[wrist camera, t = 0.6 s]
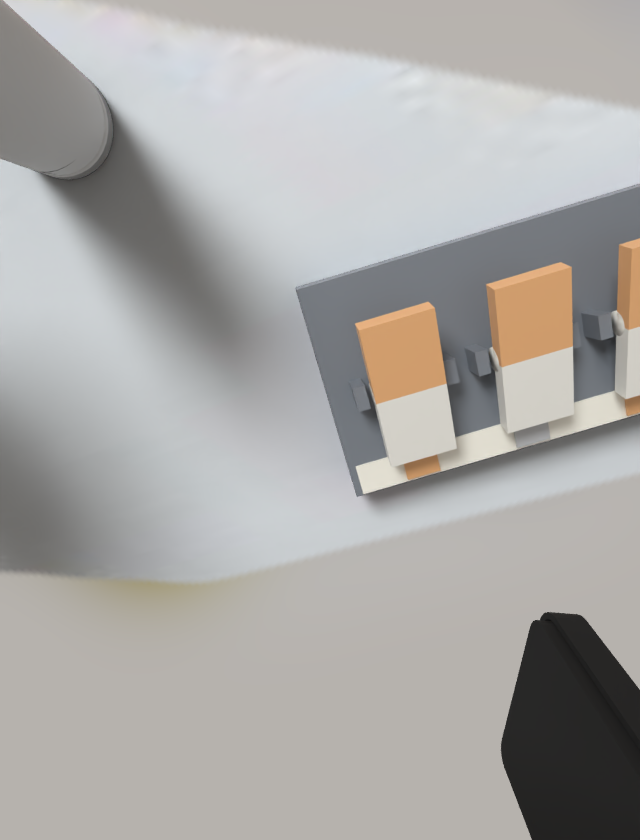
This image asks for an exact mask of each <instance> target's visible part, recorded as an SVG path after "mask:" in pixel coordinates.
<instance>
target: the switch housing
mask: <svg viewBox="0 0 640 840" xmlns="http://www.w3.org/2000/svg"><path fill="white" fill-rule="evenodd" d="M639 238H640V184H637V185H634V186H631V187H627V188H624V189H621V190H617V191H614V192H611V193H607V194H604V195H601V196H598V197H594V198H591V199H588V200H584V201H581V202H578V203H574V204H571V205H568V206H564V207H561V208H558V209H554V210H551V211H548V212H544V213H541V214H538V215H535V216H531V217H528V218H525V219H521V220H518V221H515V222H511V223H508V224H505V225H501V226H498V227H495V228H491V229H488V230H485V231H481V232H478V233H475V234H472V235H468V236H465V237H462V238H458V239H455V240H452V241H448V242H445V243H442V244H438V245H435V246H432V247H428V248H425V249H422V250H418V251H415V252H412V253H408V254H405V255H402V256H399V257H395V258H392V259H389V260H385V261H382V262H379V263H375V264H372V265H369V266H365V267H362V268H359V269H355V270H352V271H349V272H345V273H342V274H339V275H336V276H332V277H329V278H326V279H322V280H319V281H316V282H312V283H309V284H306V285H302V286H299V287H296V292H297V295H298V298H299V302H300V305H301V309H302V312H303V315H304V319H305V322H306V326H307V329H308V332H309V336H310V339H311V343H312V346H313V349H314V353H315V356H316V360H317V363H318V366H319V370H320V373H321V377H322V380H323V383H324V387H325V390H326V394H327V397H328V400H329V404H330V407H331V411H332V414H333V417H334V421H335V424H336V428H337V431H338V434H339V438H340V441H341V445H342V448H343V451H344V455H345V458H346V462H347V465H348V468H349V472H350V475H351V479H352V482H353V485H354V489H355V492H356V495H357V497H358V496H362V495H365V494H369V493H372V492H375V491H379V490H382V489H386V488H389V487H393V486H396V485H399V484H403V483H406V482H410V481H413V480H417V479H420V478H423V477H427V476H430V475H434V474H437V473H441V472H444V471H448V470H451V469H454V468H458V467H461V466H465V465H468V464H472V463H475V462H478V461H482V460H485V459H489V458H492V457H496V456H499V455H503V454H506V453H509V452H513V451H516V450H520V449H523V448H527V447H530V446H533V445H537V444H540V443H544V442H547V441H551V440H554V439H557V438H561V437H564V436H568V435H571V434H575V433H578V432H582V431H585V430H588V429H592V428H595V427H599V426H602V425H606V424H609V423H612V422H616V421H619V420H623V419H626V418H630V417H633V416H636V415H640V395H639V396H635V397H632V398H628V399H625V398H623V397H622V396H621V395H619V394H618V393H617V392H615V364H616V334H614V332H613V329H612V321H611V312H613V311H616V310H617V294H618V259H619V244H623V243H626V242H629V241H633V240H636V239H639ZM559 262H562V263H564V264H566V265H568V266H570V267H572V322H573V380H574V414H573V415H570V416H567V417H563V418H560V419H556V420H553V421H549V422H546V423H543V424H539V425H536V426H532V427H529V428H525V429H522V430H519V431H515V432H512V433H507V432H506V431H505V429H504V428H503V427H502V426H501V425H500V415H499V405H498V396H497V386H496V376H495V370H494V369H493V367H492V365H491V363H490V359H489V348H491V347H492V337H491V327H490V318H489V308H488V298H487V288H486V284H489V283H492V282H496V281H499V280H502V279H506V278H509V277H512V276H516V275H519V274H522V273H526V272H529V271H532V270H536V269H539V268H542V267H546V266H549V265H552V264H556V263H559ZM425 302H429V303H430V304H431V305H432V306H433V307H434V308H435V312H436V319H437V325H438V331H439V338H440V344H441V350H442V357H443V363H444V369H445V376H446V382H447V389H448V395H449V401H450V408H451V414H452V420H453V427H454V433H455V439H456V446H457V449H453V450H450V451H447V452H443V453H440V454H436V455H433V456H429V457H426V458H423V459H419V460H416V461H412V462H409V463H406V464H402V465H399V466H395V467H391V465H390V463H389V460H388V458H387V454H386V450H385V446H384V442H383V438H382V433H381V429H380V425H379V421H378V417H377V413H376V409H375V405H374V403H373V400H372V396H371V393H370V389H369V380H368V376H367V372H366V368H365V363H364V359H363V355H362V351H361V347H360V343H359V339H358V335H357V330H356V326H355V323H358V322H362V321H365V320H369V319H372V318H375V317H379V316H382V315H385V314H389V313H392V312H395V311H399V310H402V309H405V308H409V307H412V306H415V305H419V304H422V303H425Z"/></svg>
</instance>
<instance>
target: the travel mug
mask: <svg viewBox="0 0 640 840" xmlns="http://www.w3.org/2000/svg"><path fill="white" fill-rule="evenodd" d="M112 139H113V122H112V117H111V112H110V110H109V107H108V105H107V102H106V100H105V99H104V97H103V95H102V94H101V92H100V91H99V89H98V88H97V87H96V86H95V85H94V84H93V83H92V82H91V81H90V80H89V79H88V78H87V77H86V76H85V75H84V74H83V73H82V72H80V71H79V70H78V69H77V68H76V67H75V66H74V65H73V64H72V63H71V62H70V61H68V60H67V59H66V58H65V57H64V56H63V55H62V54H61V53H60V52H59V51H58V50H56V49H55V48H54V47H53V46H52V45H51V44H50V43H49V42H48V41H47V40H46V39H44V38H43V37H42V36H41V35H40V34H39V33H38V32H37V31H36V30H35V29H34V28H32V27H31V26H30V25H29V24H28V23H27V22H26V21H25V20H24V19H23V18H22V17H20V16H19V15H18V14H17V13H16V12H15V11H14V10H13V9H12V8H11V7H10V6H8V5H7V4H6V3H5V2H4V1H3V0H0V159H3V160H6V161H9V162H12V163H14V164H17V165H20V166H23V167H26V168H29V169H31V170H34V171H37V172H40V173H43V174H45V175H48V176H52V177H55V178H58V179H68V180H69V179H78V178H81V177H84V176H87V175H89V174H90V173H92V172H94V171H95V170H96V169H97V168H98V167H99V166H100V165H101V164H102V163H103V162H104V160H105V159H106V157H107V156H108V153H109V151H110V148H111V145H112Z"/></svg>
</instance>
